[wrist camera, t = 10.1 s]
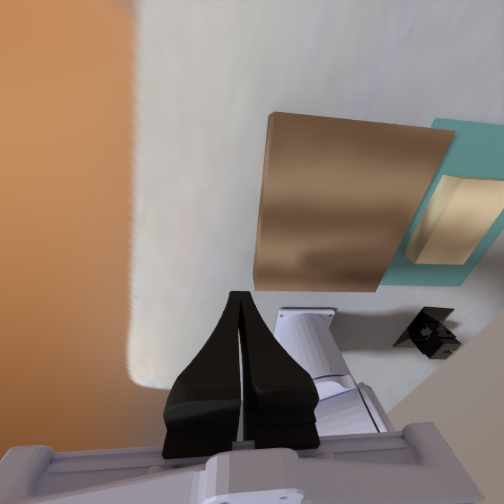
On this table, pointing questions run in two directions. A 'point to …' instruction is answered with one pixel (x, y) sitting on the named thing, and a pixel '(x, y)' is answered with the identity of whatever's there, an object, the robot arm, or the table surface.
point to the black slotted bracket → (430, 334)
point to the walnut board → (338, 199)
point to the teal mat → (453, 163)
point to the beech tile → (455, 220)
